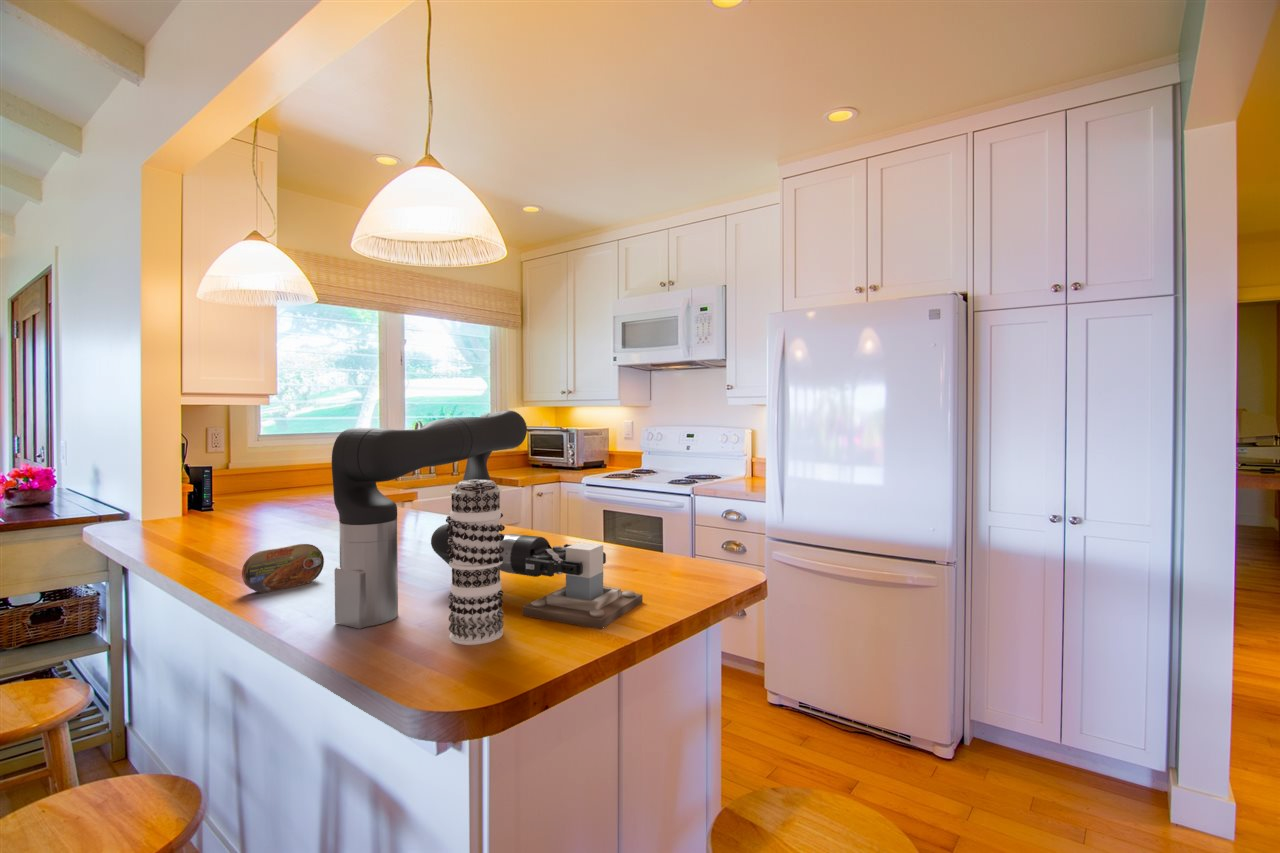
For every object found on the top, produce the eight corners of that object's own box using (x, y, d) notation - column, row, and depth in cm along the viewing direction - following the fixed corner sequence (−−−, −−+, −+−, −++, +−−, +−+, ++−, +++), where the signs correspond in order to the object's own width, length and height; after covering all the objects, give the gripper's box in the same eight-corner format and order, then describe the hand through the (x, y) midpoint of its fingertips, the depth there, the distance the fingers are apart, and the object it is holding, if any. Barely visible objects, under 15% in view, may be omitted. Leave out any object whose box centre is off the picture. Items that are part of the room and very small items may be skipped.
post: (589, 606, 108) (589, 550, 108) (565, 602, 110) (565, 547, 110) (603, 598, 112) (603, 544, 112) (580, 594, 114) (580, 542, 114)
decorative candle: (444, 629, 100) (443, 479, 100) (500, 622, 104) (500, 477, 103) (448, 649, 92) (447, 485, 91) (510, 640, 95) (509, 482, 95)
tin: (246, 597, 118) (245, 554, 117) (239, 594, 120) (239, 552, 119) (325, 580, 130) (324, 541, 129) (318, 577, 132) (317, 539, 131)
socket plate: (601, 629, 100) (601, 611, 100) (522, 615, 107) (522, 598, 107) (642, 602, 115) (642, 586, 115) (570, 591, 122) (570, 576, 122)
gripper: (497, 542, 110) (573, 551, 103) (542, 528, 123) (612, 535, 116) (497, 583, 111) (573, 594, 104) (542, 565, 123) (612, 574, 116)
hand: (593, 563), depth 110 cm, fingers open, 8 cm apart
